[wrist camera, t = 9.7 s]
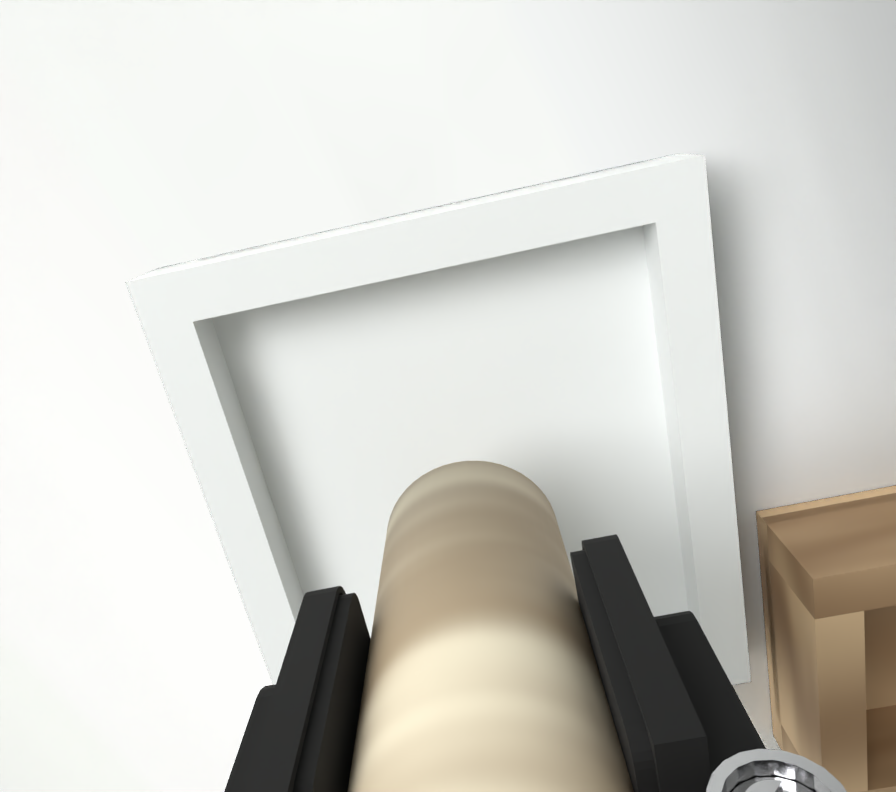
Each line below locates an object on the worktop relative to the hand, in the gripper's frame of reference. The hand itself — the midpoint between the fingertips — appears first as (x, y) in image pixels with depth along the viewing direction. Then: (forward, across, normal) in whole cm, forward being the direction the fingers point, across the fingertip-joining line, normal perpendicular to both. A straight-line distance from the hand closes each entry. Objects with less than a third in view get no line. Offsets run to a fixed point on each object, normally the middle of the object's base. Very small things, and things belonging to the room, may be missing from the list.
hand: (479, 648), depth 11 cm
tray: (+6, 0, 0) cm, 6 cm away
